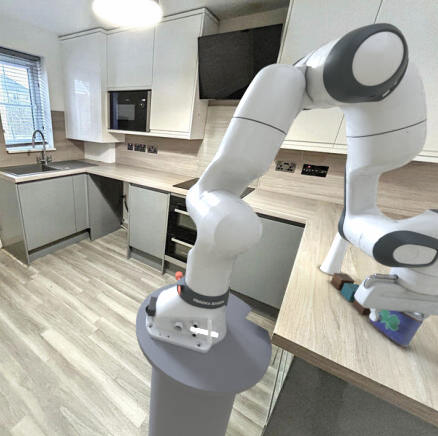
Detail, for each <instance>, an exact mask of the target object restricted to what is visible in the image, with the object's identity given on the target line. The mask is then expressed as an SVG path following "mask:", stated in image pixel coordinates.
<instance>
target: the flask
mask: <svg viewBox="0 0 438 436" xmlns="http://www.w3.org/2000/svg"><path fill="white" fill-rule="evenodd" d="M379 315H381V316H382V317H383V318H382V320H381V322H375V321H372V320H371V319H370V317H369V318H368V323H370V325H371V326H372V327H374V329H375V330H377V331H378V332H379V333H381V334H382V336H384V337H385V338H387V339H388V340H389V341H391V342H392V343H393V344H395V345H396V346H398V347H400V348H402V349H405V348H408V347H409V345H410V343H411V342H412V340H413V338H415V337H414V336H415V335H416V333H417V331H418V330H419V328H420V327H421V325H422V324H423V323H424V320H423V318H422V317H420V316H419V315H417V314H415V313H413V312H405V311H402V312H401V311H391V310H382V311H381V312H379Z"/></svg>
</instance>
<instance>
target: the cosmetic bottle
mask: <svg viewBox="0 0 438 436" xmlns="http://www.w3.org/2000/svg"><path fill="white" fill-rule="evenodd" d="M349 244H350V243H349V242H348V241H346V240H344V239H343V238H342V237H341V236H340V234H339V232H338V231H337V233H336V235H335V238H334V240H333V242H332V244H331V246H330V248H329V251H328V254H327V255H326V257H325V259H324V261H323V263H322V264H321V266H320V270H321V271H322V272H323V273H325V274H327V275H330V276H333V275H334V273H342V271H341V270H342V265H343V261H344V259H345V255H346V252H347V249H348V246H349Z"/></svg>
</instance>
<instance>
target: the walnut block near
mask: <svg viewBox="0 0 438 436" xmlns="http://www.w3.org/2000/svg"><path fill="white" fill-rule="evenodd" d="M352 307H353V308H354V309H355V310H356V311H357V312H358V313H359V314H360V315H361V316H368V317H369V315H370V313H371V311H370V308H364V307H363V306H362V305H361V304H360V303H359V302H358V301H357V300H356V299H355V300H354V302H352Z"/></svg>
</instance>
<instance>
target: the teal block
mask: <svg viewBox="0 0 438 436" xmlns="http://www.w3.org/2000/svg"><path fill="white" fill-rule="evenodd" d="M359 286H360V284H359V283H354V284H350V283H344V286H343V288H342V290H340V294H341V295H342V296H343V298H344V299H345V300H347V302H350V303H353V302H354V300H355V297H354V295H355V293H356V291H357V289H358V288H359Z"/></svg>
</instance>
